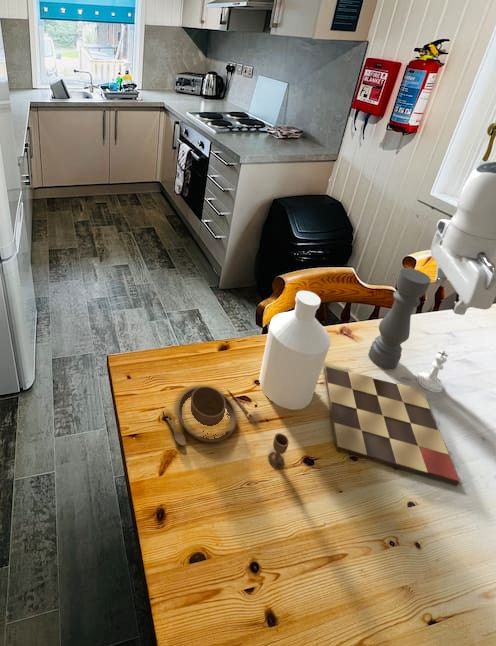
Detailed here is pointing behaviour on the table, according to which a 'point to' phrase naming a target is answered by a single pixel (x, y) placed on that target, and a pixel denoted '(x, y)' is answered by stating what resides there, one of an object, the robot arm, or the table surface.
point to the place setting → (219, 419)
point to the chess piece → (433, 374)
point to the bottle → (294, 354)
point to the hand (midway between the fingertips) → (448, 297)
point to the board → (387, 425)
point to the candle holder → (398, 318)
